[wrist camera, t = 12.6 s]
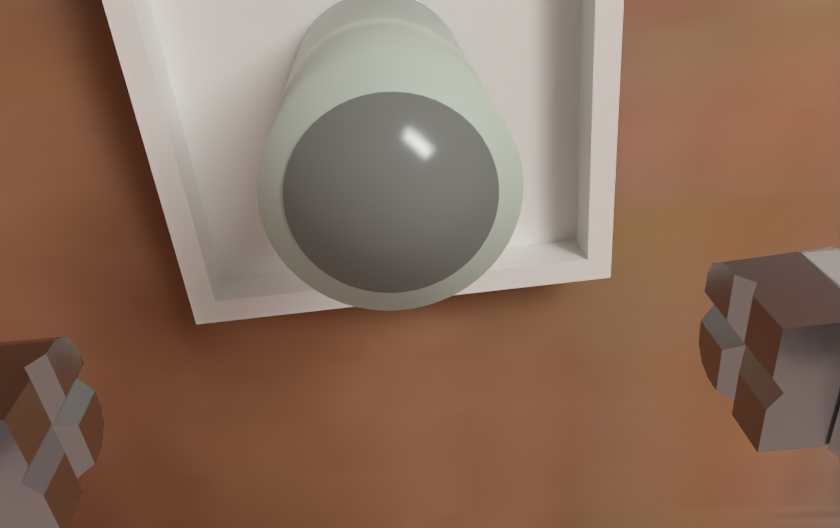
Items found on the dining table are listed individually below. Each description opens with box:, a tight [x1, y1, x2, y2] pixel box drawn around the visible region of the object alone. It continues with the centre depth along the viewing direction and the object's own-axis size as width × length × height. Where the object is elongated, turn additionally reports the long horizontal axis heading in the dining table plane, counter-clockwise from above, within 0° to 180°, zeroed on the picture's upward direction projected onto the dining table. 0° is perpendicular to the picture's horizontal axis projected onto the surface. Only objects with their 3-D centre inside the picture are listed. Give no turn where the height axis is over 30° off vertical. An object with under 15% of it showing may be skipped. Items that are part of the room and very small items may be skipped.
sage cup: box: [257, 0, 524, 311], centre depth 18 cm, size 5×5×9 cm
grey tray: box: [102, 0, 624, 325], centre depth 22 cm, size 14×14×2 cm
